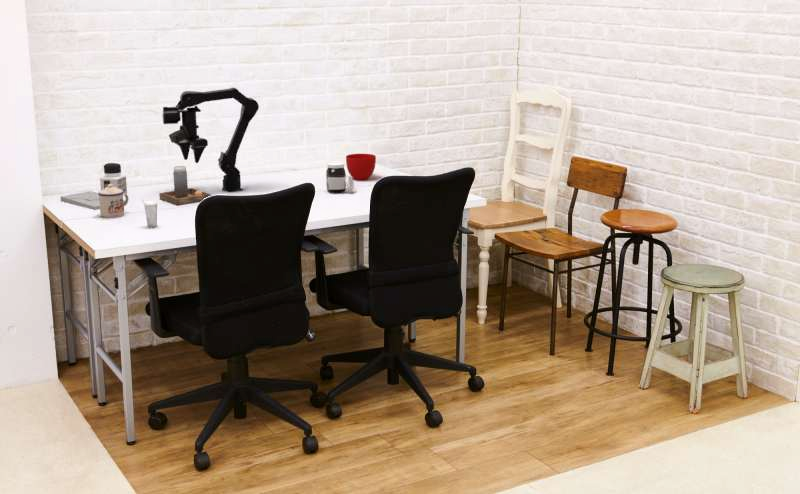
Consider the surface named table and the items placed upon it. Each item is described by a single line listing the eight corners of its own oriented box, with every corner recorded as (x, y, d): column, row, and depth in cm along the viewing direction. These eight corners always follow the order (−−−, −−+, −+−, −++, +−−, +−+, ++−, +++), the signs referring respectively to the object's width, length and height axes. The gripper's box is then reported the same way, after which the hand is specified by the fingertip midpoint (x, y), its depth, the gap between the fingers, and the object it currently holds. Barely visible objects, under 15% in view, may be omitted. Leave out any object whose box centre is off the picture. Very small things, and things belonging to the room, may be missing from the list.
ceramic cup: (381, 174, 460) (381, 152, 458) (371, 182, 444) (371, 159, 442) (353, 173, 463) (352, 151, 460) (342, 181, 447) (342, 158, 445)
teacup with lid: (109, 219, 380) (107, 188, 377) (94, 215, 386) (92, 184, 383) (136, 213, 389) (134, 182, 386) (121, 209, 395) (119, 179, 392)
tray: (192, 194, 421) (192, 188, 421) (210, 200, 411) (210, 194, 410) (159, 199, 413) (159, 193, 412) (177, 205, 402) (176, 199, 401)
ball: (200, 197, 413) (200, 189, 412) (204, 198, 411) (203, 190, 410) (193, 198, 411) (192, 190, 410) (197, 199, 409) (196, 191, 408)
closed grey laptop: (95, 211, 395) (125, 205, 405) (94, 206, 394) (125, 200, 404) (60, 201, 410) (91, 195, 420) (60, 195, 409) (90, 190, 419)
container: (118, 197, 416) (116, 165, 412) (101, 196, 417) (98, 164, 414) (127, 193, 423) (125, 162, 419) (109, 192, 424) (107, 161, 421)
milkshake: (144, 224, 372) (142, 197, 369) (159, 224, 372) (157, 197, 370) (142, 227, 368) (140, 200, 365) (157, 227, 368) (156, 199, 365)
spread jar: (324, 189, 431) (324, 161, 428) (351, 188, 433) (351, 160, 430) (330, 195, 419) (329, 167, 416) (357, 194, 422) (357, 165, 419)
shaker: (180, 196, 415) (178, 165, 412) (190, 197, 413) (189, 166, 409) (172, 198, 410) (170, 167, 407) (182, 200, 408) (180, 168, 405)
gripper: (160, 122, 419) (162, 160, 423) (182, 127, 405) (184, 167, 409) (185, 119, 426) (187, 157, 430) (207, 125, 412) (209, 163, 416)
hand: (191, 161), depth 421 cm, fingers open, 9 cm apart
